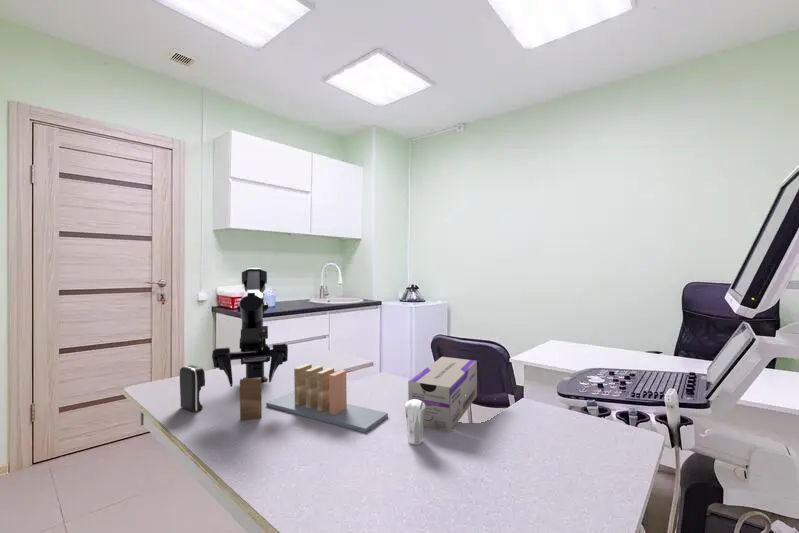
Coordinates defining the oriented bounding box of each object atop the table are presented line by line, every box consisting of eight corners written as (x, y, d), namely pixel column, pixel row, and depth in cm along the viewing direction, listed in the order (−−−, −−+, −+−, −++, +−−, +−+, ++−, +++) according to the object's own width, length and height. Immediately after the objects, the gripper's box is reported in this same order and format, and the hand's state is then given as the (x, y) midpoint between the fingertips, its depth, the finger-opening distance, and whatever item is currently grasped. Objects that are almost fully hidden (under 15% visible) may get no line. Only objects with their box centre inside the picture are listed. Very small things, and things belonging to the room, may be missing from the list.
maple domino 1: (294, 405, 103) (294, 368, 102) (307, 398, 107) (307, 363, 107) (299, 406, 102) (298, 369, 102) (312, 399, 106) (311, 364, 106)
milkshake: (413, 450, 80) (413, 403, 80) (401, 439, 85) (401, 395, 85) (431, 445, 82) (431, 399, 82) (419, 435, 87) (418, 391, 87)
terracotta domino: (329, 413, 97) (329, 374, 96) (341, 406, 101) (341, 369, 101) (334, 415, 96) (334, 375, 96) (346, 408, 100) (346, 370, 100)
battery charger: (207, 408, 103) (206, 366, 103) (193, 413, 100) (192, 370, 100) (193, 403, 107) (192, 362, 107) (179, 407, 104) (178, 366, 103)
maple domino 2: (306, 407, 101) (305, 370, 100) (318, 401, 105) (318, 365, 105) (310, 409, 100) (310, 371, 100) (323, 402, 104) (322, 366, 104)
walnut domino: (240, 418, 97) (240, 379, 97) (261, 415, 98) (261, 377, 98) (240, 420, 95) (239, 381, 95) (261, 417, 97) (260, 379, 97)
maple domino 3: (317, 410, 99) (317, 372, 98) (330, 404, 103) (329, 367, 103) (322, 412, 98) (321, 373, 98) (334, 405, 102) (334, 368, 102)
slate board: (266, 406, 104) (266, 402, 104) (292, 394, 113) (292, 391, 113) (365, 432, 88) (365, 428, 88) (387, 416, 97) (387, 413, 97)
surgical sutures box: (450, 432, 89) (450, 387, 88) (408, 424, 93) (408, 381, 93) (476, 396, 111) (476, 360, 111) (442, 391, 116) (442, 356, 116)
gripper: (212, 317, 99) (206, 371, 89) (287, 314, 105) (289, 363, 95) (217, 342, 107) (211, 394, 96) (286, 337, 113) (288, 385, 102)
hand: (250, 383), depth 97 cm, fingers open, 9 cm apart
